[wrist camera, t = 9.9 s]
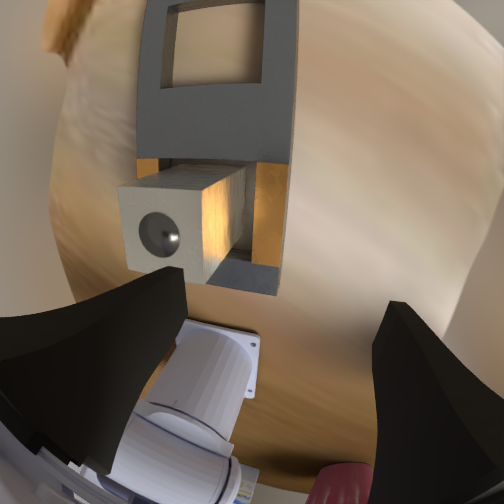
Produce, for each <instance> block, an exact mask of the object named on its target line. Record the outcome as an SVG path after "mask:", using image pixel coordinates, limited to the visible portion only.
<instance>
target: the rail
mask: <svg viewBox="0 0 504 504" xmlns="http://www.w3.org/2000/svg"><path fill="white" fill-rule="evenodd" d="M257 2H265V19H264V39H263V58H262V78H261V83H228V84H207V85H194V86H183V87H174V88H172V75H173V60H174V48H175V37H176V28H177V19H178V13H179V12H184V11H189V10H194V9H200V8H206V7H213V6H221V5H230V4H240V3H257ZM298 34H299V0H147V5H146V11H145V18H144V25H143V32H142V40H141V50H140V61H139V74H138V92H137V159H136V166H137V179H139V178H142V177H145V176H148V175H151V174H154V173H157V172H160V171H163V170H166V169H169V168H171V158H196V159H223V160H241V161H255V162H257V165H256V185H255V204H254V223H253V243H252V252H251V251H244V250H237V249H230V251H229V252H228V253H227V255H226V256H225V257H224V259H223V260H222V262H221V263H220V264H219V266H218V267H217V268H216V270H215V271H214V273H213V274H212V275H211V277H210V278H209V280H208V281H207V282H206V284H210V285H215V286H221V287H226V288H232V289H237V290H243V291H248V292H254V293H260V294H266V295H272V296H276V295H277V292H278V288H279V285H280V276H281V267H282V258H283V249H284V239H285V229H286V219H287V209H288V198H289V186H290V174H291V162H292V149H293V135H294V119H295V103H296V84H297V63H298Z"/></svg>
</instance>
